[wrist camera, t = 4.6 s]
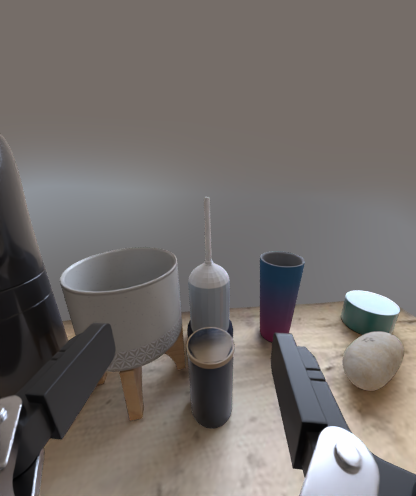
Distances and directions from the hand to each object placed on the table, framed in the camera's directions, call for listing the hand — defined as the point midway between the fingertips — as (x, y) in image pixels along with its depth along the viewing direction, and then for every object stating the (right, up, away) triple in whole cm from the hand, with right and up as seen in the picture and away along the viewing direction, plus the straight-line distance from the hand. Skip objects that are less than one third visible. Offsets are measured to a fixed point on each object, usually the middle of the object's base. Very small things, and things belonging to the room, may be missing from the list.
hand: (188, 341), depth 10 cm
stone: (+25, -14, +20) cm, 35 cm away
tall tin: (+1, -16, +16) cm, 22 cm away
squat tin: (+32, -10, +30) cm, 44 cm away
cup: (+13, -11, +28) cm, 33 cm away
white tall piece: (+1, -12, +27) cm, 29 cm away
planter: (-9, -14, +21) cm, 27 cm away
